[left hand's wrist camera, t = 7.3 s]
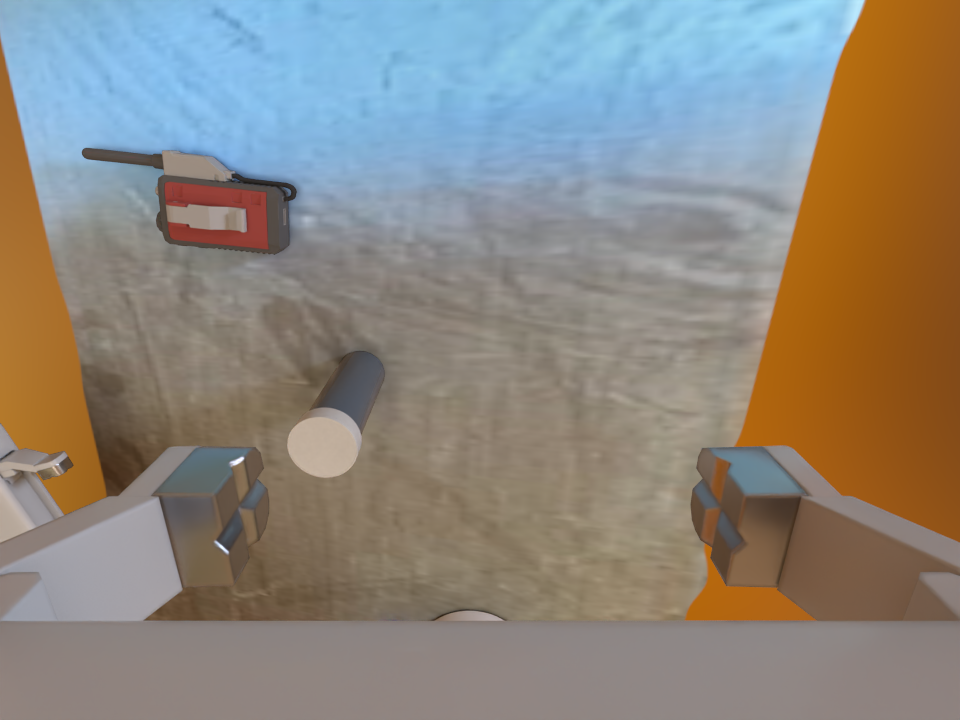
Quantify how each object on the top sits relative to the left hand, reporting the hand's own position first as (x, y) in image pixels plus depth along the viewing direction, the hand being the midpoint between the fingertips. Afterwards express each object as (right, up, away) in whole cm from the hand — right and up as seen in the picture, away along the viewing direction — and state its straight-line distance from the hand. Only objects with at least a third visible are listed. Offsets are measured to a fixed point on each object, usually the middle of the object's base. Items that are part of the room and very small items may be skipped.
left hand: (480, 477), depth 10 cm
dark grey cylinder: (-13, +1, +51) cm, 53 cm away
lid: (-13, -5, +36) cm, 39 cm away
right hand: (-34, -11, +38) cm, 52 cm away
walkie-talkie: (-28, +18, +44) cm, 56 cm away
